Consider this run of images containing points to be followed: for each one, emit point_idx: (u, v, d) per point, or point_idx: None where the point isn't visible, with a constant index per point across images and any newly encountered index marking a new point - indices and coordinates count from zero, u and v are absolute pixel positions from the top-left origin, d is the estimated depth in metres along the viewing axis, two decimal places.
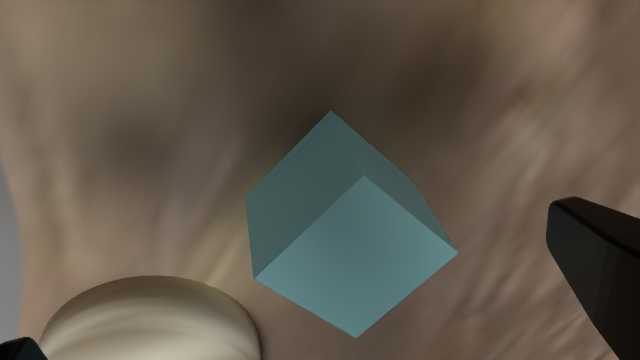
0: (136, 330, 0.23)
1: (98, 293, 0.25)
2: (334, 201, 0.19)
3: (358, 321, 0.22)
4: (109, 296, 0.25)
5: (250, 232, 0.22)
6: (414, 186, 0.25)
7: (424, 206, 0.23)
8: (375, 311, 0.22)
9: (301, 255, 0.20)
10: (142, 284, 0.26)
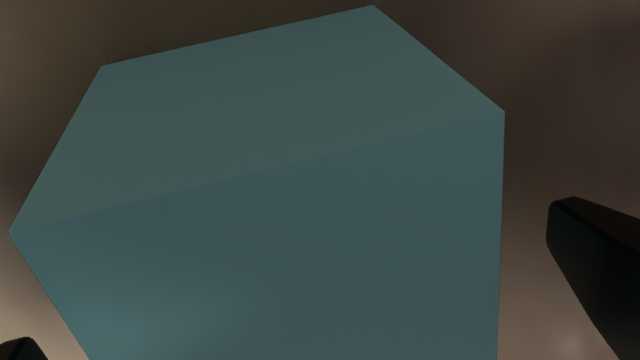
0: None
1: None
2: (63, 316, 0.07)
3: None
4: None
5: None
6: (374, 16, 0.10)
7: (383, 54, 0.09)
8: (469, 353, 0.08)
9: None
10: None
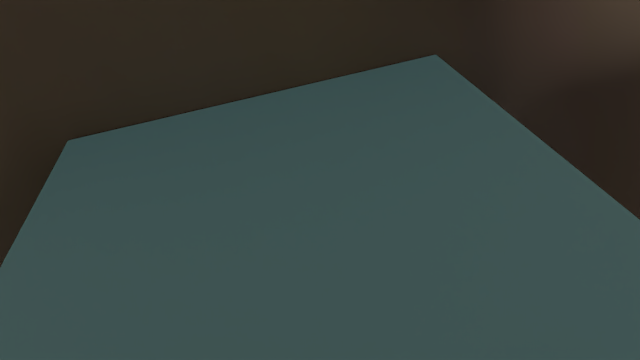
0: None
1: None
2: None
3: None
4: None
5: None
6: (445, 76, 0.07)
7: (482, 155, 0.06)
8: None
9: None
10: None
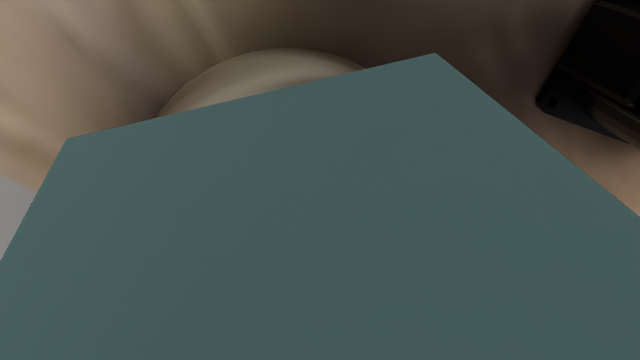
0: None
1: None
2: None
3: None
4: None
5: None
6: (445, 75, 0.07)
7: (482, 153, 0.06)
8: None
9: None
10: None
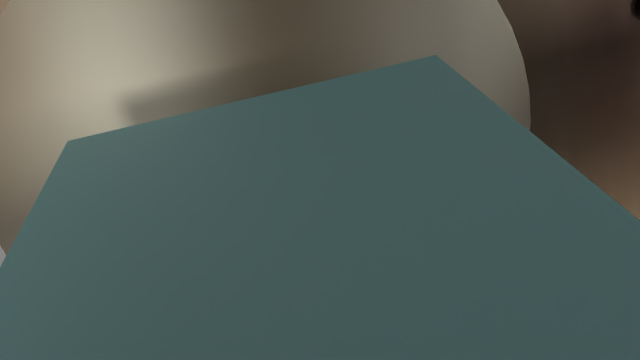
0: None
1: None
2: None
3: None
4: None
5: None
6: (445, 77, 0.07)
7: (482, 156, 0.06)
8: None
9: None
10: None
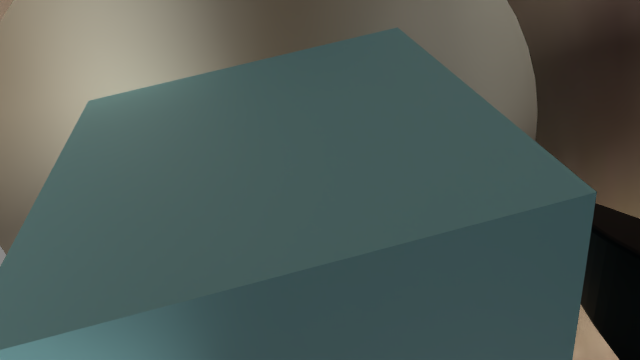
0: None
1: None
2: None
3: None
4: None
5: None
6: (402, 43, 0.09)
7: (420, 97, 0.07)
8: None
9: None
10: None
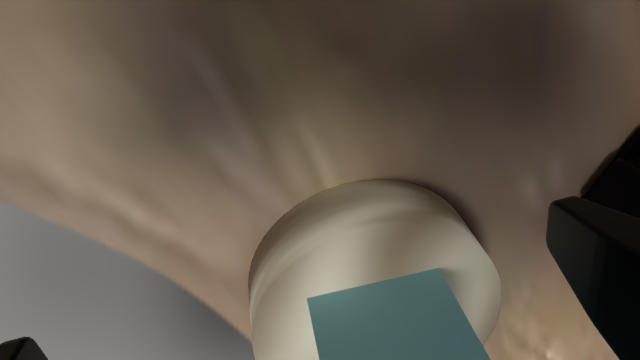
0: (272, 284, 0.21)
1: (250, 275, 0.25)
2: None
3: None
4: (253, 271, 0.24)
5: None
6: (441, 282, 0.22)
7: (451, 324, 0.20)
8: None
9: None
10: (265, 241, 0.24)
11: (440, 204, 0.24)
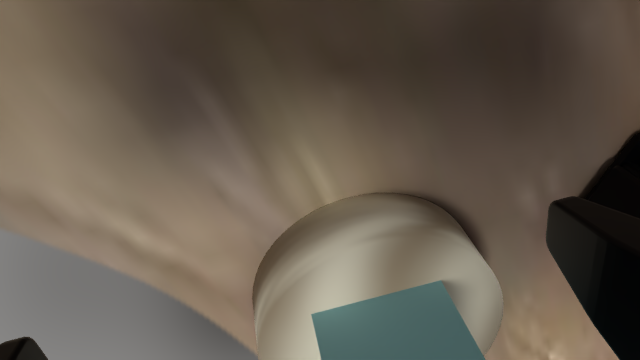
0: (276, 301, 0.22)
1: (254, 290, 0.25)
2: None
3: None
4: (257, 287, 0.24)
5: None
6: (444, 295, 0.22)
7: (454, 337, 0.20)
8: None
9: None
10: (268, 257, 0.24)
11: (441, 216, 0.24)
